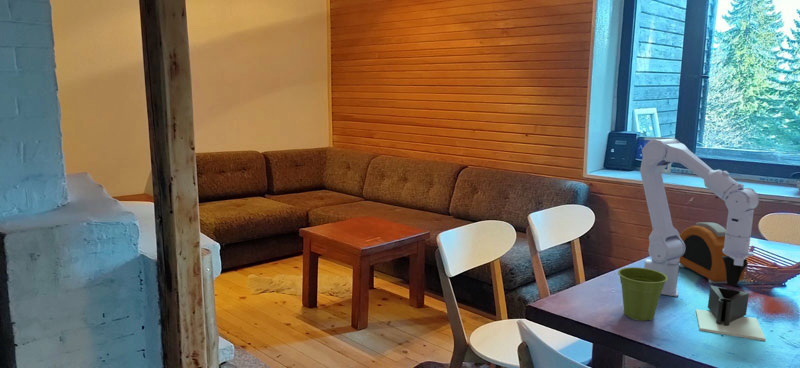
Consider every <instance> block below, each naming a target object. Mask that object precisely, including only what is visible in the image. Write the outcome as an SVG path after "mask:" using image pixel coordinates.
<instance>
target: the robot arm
mask: <svg viewBox="0 0 800 368" xmlns="http://www.w3.org/2000/svg"><path fill="white" fill-rule="evenodd" d="M641 153H642V159H641V163H640V170H639V171H640V177H641V181H642V186H643V191H644V195H645V200H646V204H647V210H648V214H649V218H650V223H651V227H652V228H651V229H652V231H651V232H650V235H649V236H648V241H649V244H648V254H649V255H648V256H650V258H645V259H644V263H643V264H644V265H643V266H644V267H643V268H646V269H651V270H655V271H658V272H661V273H663V274H665V275H666V276H667V277H668V280H667V281H666V282H665V283H664V287H663V289H662V291H661V294H660V295H664V296H671V297H679V290H678V289H679V288H678V279H679V278H678V277H679V269H680V263H679V262H680V257H681V256H682V255H683V254H684V253H685V244H684V242H683V241H682V239H681V238H680V232H679V231H678V230H677V228H675V227H674V225H673V221H672V215H671V210H670V206H669V201H668V197H667V194H666V189H665V184H664V180H663V175H662V173H663V172H664V170H665V169H666V168H667V166H668V165H670V164H671V163H676V164H677V163H678V164H681V165H682V166H684V167H685V168H686V169H689V171H691V172H692V173H694V174H695V175H697V176H698V177H700V178H701V179H703V182H704V186H705V188H707V189H708V190H710V191H711V193H713V194H715V196H717V197H719V198H720V199H721V200H722V201H724V204H725V207H726V208H727V211H728V213H727V219H726V227H725V229H726V234H725V242H724V249H723V251H722V252H723V253H724V254H726V255H727V256H722V258H723V261H724V264H725V269H726V281H727V283H726V284H727V286H733V287H737V285H738V283H739V282H740V281H739V278H740V276H741V273H742V271H743V270H744V268H745V269H746V268H747V266H748V264H749V263H748V259H747V258H748V257H754V254H755V253H754V252H752V251H750V244H751V238H752V237H751V235H752V228H753V223H754V222H753V221H754V219H753V218H754V212H755V210H754V209H756V208H757V207H758V205H759V204H760V197H759V195H758V193H757V192H756V191H755V190H754V189H753V188H751V187H745V185H744V184H743V183H741V182H737V181H736V180H735V179H734V178H732V177H731V176H730V173H729V172H728V171H727V170H722V169H712V168H711V167H710V166H709V165H708V164H706V162H704V161H703V160H701V159H700V158H699V157H698V156H697V155H696V154H695V153H693V152H692V151H691V150H690V149H689V148H688V147H687V145H685V144H684V143H682V142H680V141H679V139H676V138H669V137H668V138H665V139H662V138H661V139H657V138H656V139H651V140H649V141H647V143H645V145H644V146H643V148H642V149H641Z"/></svg>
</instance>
